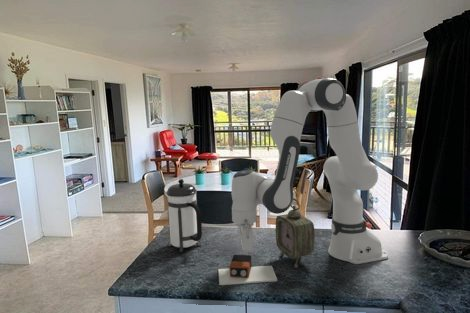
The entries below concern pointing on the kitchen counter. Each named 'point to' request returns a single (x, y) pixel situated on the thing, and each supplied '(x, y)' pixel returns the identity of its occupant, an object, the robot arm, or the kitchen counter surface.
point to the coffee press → (183, 216)
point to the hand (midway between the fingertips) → (245, 252)
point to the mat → (255, 276)
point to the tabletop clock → (294, 234)
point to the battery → (240, 266)
